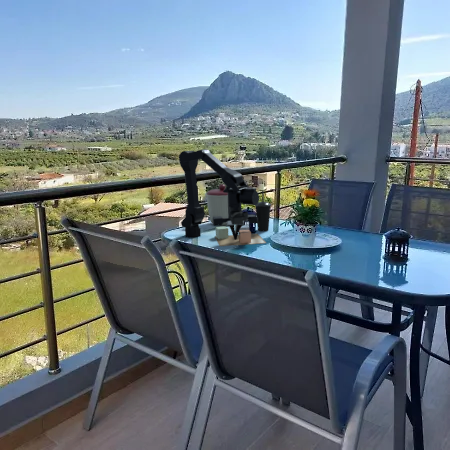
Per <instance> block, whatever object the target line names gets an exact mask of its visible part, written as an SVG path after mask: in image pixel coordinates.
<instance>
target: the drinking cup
mask: <svg viewBox="0 0 450 450" xmlns="http://www.w3.org/2000/svg"><path fill="white" fill-rule="evenodd" d="M264 193H265V192H264V190H262V191H261V201H259V202H258V204H257V205H254V206H255V214H256V215H255V216H256V217H257V218H258V223H256V225H257V231H258V232H268V231H269V228H270V216H271V207H272V203H269V202H268V201H265V196H264Z"/></svg>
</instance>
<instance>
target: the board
mask: <svg viewBox="0 0 450 450" xmlns="http://www.w3.org/2000/svg"><path fill="white" fill-rule="evenodd" d="M214 237H215V240H216V242H217V244H218V246H219V247H229V246H245V245H257V244H259V245H261V244H267V242H266V240H264V239H263V238H262V237H261V236H260V234H259V233H251V243H240V241H239V234H238V236H237V239H236V240H234V237H233V234H228V238H225V239H218V238H217V237H216V235H215V236H214Z"/></svg>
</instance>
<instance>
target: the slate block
mask: <svg viewBox="0 0 450 450" xmlns="http://www.w3.org/2000/svg"><path fill="white" fill-rule="evenodd" d="M240 230H250V226H249V225H248V224H246V225H245V224H244V226H242V227H241V228H240Z"/></svg>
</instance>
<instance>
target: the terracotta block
mask: <svg viewBox="0 0 450 450" xmlns="http://www.w3.org/2000/svg"><path fill="white" fill-rule="evenodd" d="M251 234H252V232H251V230H250V229H249V230H239V233H238V235H239V241H240V243H251Z"/></svg>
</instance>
